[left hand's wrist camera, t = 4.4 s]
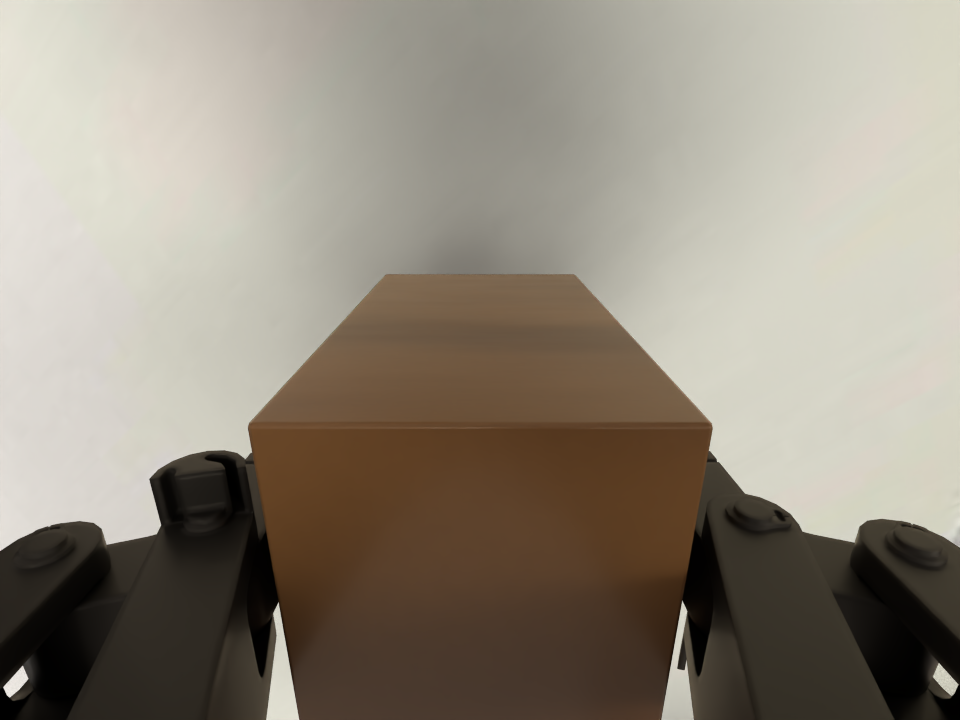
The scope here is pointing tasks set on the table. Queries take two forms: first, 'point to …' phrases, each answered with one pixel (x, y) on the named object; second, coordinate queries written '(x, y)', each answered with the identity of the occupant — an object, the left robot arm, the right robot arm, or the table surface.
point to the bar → (480, 506)
